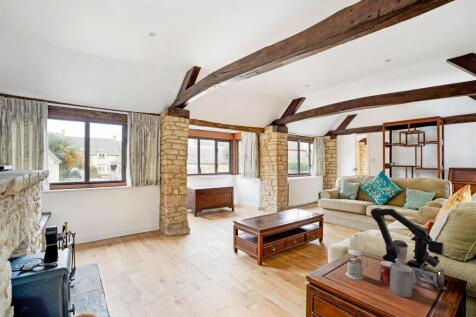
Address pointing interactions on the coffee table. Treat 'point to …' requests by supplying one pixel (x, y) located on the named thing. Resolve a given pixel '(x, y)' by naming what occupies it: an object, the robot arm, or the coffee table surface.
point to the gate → (426, 276)
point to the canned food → (385, 272)
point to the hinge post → (440, 279)
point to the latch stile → (417, 279)
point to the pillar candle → (401, 279)
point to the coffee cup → (403, 250)
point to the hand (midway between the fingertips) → (419, 275)
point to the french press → (354, 272)
